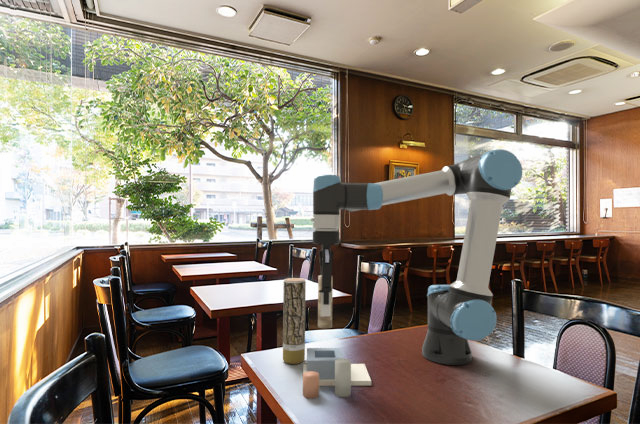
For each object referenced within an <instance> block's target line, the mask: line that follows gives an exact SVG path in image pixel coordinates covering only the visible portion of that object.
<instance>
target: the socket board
mask: <svg viewBox="0 0 640 424" xmlns="http://www.w3.org/2000/svg"><path fill="white" fill-rule="evenodd" d="M341 358H344V359H345V357H344V353H343V349H342V347H307V348H306V363H303V365H302V367H303V370H302V372H303V373H302V375H303V374H304V373H305V372H308V371H314V372H317V373H319V387H320V386H321V387H324V386H325V387H327V386H328V387H331V386H332V387H333V386H334V387H335V360H337V359H341ZM352 386H353V387H356V386H358V387H359V386H361V387H362V386H372V379H371V377H370V374H369V371H368V370H367V367H366V364H365V363H351V387H352Z"/></svg>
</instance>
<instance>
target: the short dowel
mask: <svg viewBox="0 0 640 424" xmlns="http://www.w3.org/2000/svg"><path fill="white" fill-rule="evenodd" d="M302 396H303V397H304V398H305V399H316V398H318V397H319V396H320V386H319V373H317V372H314V371H308V372H305V373H304V374H303V373H302Z"/></svg>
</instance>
